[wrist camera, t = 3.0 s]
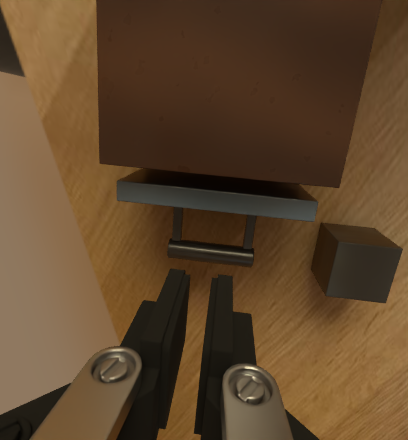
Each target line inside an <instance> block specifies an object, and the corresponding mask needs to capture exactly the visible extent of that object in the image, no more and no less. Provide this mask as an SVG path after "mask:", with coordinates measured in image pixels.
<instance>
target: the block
mask: <svg viewBox="0 0 408 440" xmlns="http://www.w3.org/2000/svg"><path fill="white" fill-rule="evenodd" d="M402 250H403V249H402V248H401V247H399V246H398V245H397V244H395V243H394V242H392V241H391V240H390V239H388V238H387V237H385V236H384V235H383V234H381V233H380V232H379V231H377V230H376V229H374V228H366V227H357V226H348V225H338V224H329V223H321V226H320V230H319V235H318V239H317V244H316V248H315V253H314V258H313V262H312V267H311V270H312V272H313V274H314V276H315V278H316V279H317V281H318V283H319V285H320V287H321V289H322V290H323V292H324V294H325V296H330V297H338V298H346V299H354V300H362V301H371V302H379V303H386V301H387V298H388V294H389V291H390V288H391V285H392V282H393V279H394V275H395V272H396V269H397V266H398V263H399V260H400V256H401V253H402Z"/></svg>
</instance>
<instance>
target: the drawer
mask: <svg viewBox="0 0 408 440" xmlns="http://www.w3.org/2000/svg"><path fill="white" fill-rule="evenodd" d="M117 200H118V201H125V202H135V203H144V204H153V205H162V206H171V207H174V215H173V232H172V238H171V239H170V240H169V244H168V251H167V255H168V258H175V259H183V260H192V261H200V262H209V263H217V264H225V265H234V266H242V267H252V266H253V261H254V248H252V243H253V236H254V229H255V222H256V216H264V217H273V218H282V219H291V220H300V221H310V222H314V220H315V216H316V211H317V206H318V201H317V200H316V199H314V198H313V197H312V196H311V195H310V194H309V193H308V192H307V191H305V190H304V189H303V188H302V187H301V186H300V185H299V184H294V183H285V182H275V181H265V180H255V179H245V178H236V177H226V176H216V175H206V174H196V173H186V172H177V171H167V170H157V169H147V168H142V169H140V170H138V171H136V172H134V173H132V174H130V175H128V176H126V177H124V178H122V179H120V180H118V181H117ZM184 208H190V209H199V210H208V211H217V212H227V213H236V214H245V215H247V218H246V225H245V233H244V240H243V247H242V246H233V245H225V244H216V243H207V242H198V241H190V240H181V238H182V223H183V209H184Z"/></svg>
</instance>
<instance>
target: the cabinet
mask: <svg viewBox="0 0 408 440" xmlns="http://www.w3.org/2000/svg"><path fill="white" fill-rule="evenodd" d="M96 2H97V54H98V106H99V158H100V164H108V165H118V166H127V167H137V168H147V169H157V170H167V171H177V172H186V173H196V174H206V175H216V176H226V177H236V178H245V179H255V180H265V181H275V182H285V183H294V184H304V185H314V186H324V187H334V188H339V187H340V183H341V178H342V174H343V170H344V165H345V161H346V157H347V152H348V148H349V144H350V139H351V135H352V130H353V126H354V122H355V117H356V113H357V109H358V104H359V100H360V96H361V91H362V87H363V83H364V78H365V74H366V69H367V65H368V61H369V56H370V52H371V48H372V43H373V39H374V35H375V30H376V26H377V22H378V17H379V13H380V9H381V4H382V0H96Z"/></svg>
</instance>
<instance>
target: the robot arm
mask: <svg viewBox="0 0 408 440" xmlns="http://www.w3.org/2000/svg"><path fill="white" fill-rule="evenodd" d="M189 286H190V275H187V274H185V270H178V269H170V271H169V273H168V276H167V278H166V280H165V283H164V285H163V288H162V290H161V292H160V295H159V297H158V299H157V302H154V301H146V300H144V301H143V302H142V304H141V305H140V307H139V309H138V311H137V313H136V315H135V317H134V319H133V321H132V323H131V325H130V327H129V329H128V331H127V333H126V335H125V337H124V339H123V341H122V343H121V345H120V346H114V347H109V348H106V349H103V350H101V351H99V352H97V353H96V354H94V355H93V356H92V357H91V358H90V359H89V360H88V362H87V363H86V364H85V366H84V367H83V368H82V370H81V371H80V372H79V374H78V375H77V376H76V378H75V379H74V380H73V382H72V383H69V384H67V385H65V386H63V387H61V388H59V389H56V390H54V391H52V392H50V393H48V394H45V395H43V396H41V397H39V398H37V399H35V400H32V401H30V402H28V403H26V404H24V405H21V406H19V407H17V408H15V409H13V410H10V411H8V412H6V413H4V414H2V415H0V440H156V439H157V435H158V431H159V428H160V429H166V425H167V421H168V416H169V412H170V407H171V403H172V398H173V393H174V389H175V384H176V380H177V375H178V370H179V366H180V361H181V357H182V352H183V347H184V342H185V335H186V323H187V311H188V299H189ZM194 434H199V435H201V440H319V439H318V438H317V437H316V436H315V435H314V434H313V433H312V432H310V431H309V430H308V429H307V428H306V427H305V426H304V425H302V424H301V423H300V422H299V421H298V420H297V419H296V418H295V417H293V416H292V415H291V414H290V413H289V412H288V411H287V410H286V409H284V405H283V402H282V398H281V395H280V391H279V388H278V385H277V383H276V381H275V379H274V378H273V377H272V376H271V374H270V373H269V372H267V371H266V370H264V369H263V368H261V367H259V366H257V365H256V355H255V346H254V336H253V326H252V317H251V314H248V313H240V312H233V277H232V276H227V275H219V274H218V278H212V282H211V290H210V297H209V305H208V313H207V320H206V328H205V336H204V344H203V352H202V361H201V371H200V380H199V390H198V399H197V409H196V419H195V428H194Z"/></svg>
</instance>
